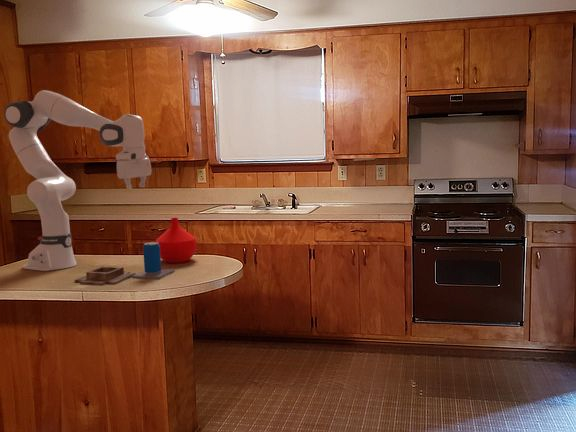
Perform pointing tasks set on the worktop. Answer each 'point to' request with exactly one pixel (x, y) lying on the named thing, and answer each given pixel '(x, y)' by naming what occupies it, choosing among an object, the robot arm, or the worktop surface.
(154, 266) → the beverage can
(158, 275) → the coaster
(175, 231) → the vase
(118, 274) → the socket
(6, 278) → the worktop surface
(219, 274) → the worktop surface
